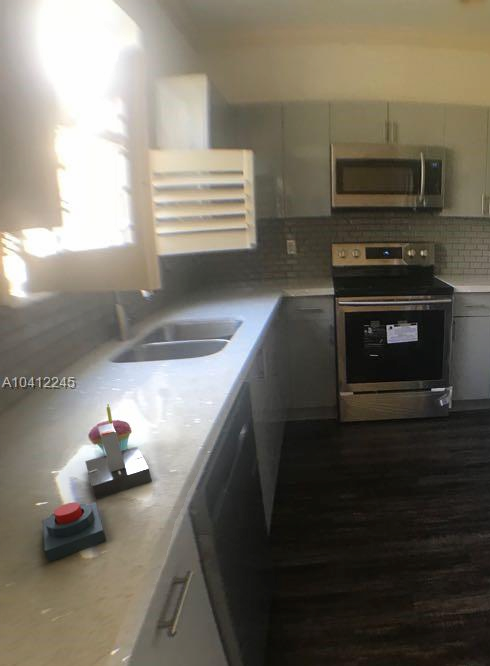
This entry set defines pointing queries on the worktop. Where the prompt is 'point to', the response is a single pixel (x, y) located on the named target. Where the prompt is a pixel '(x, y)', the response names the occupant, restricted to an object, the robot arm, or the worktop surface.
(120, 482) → the plate
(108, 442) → the hob knob
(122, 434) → the cupcake
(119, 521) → the worktop surface
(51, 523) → the button box
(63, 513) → the button
